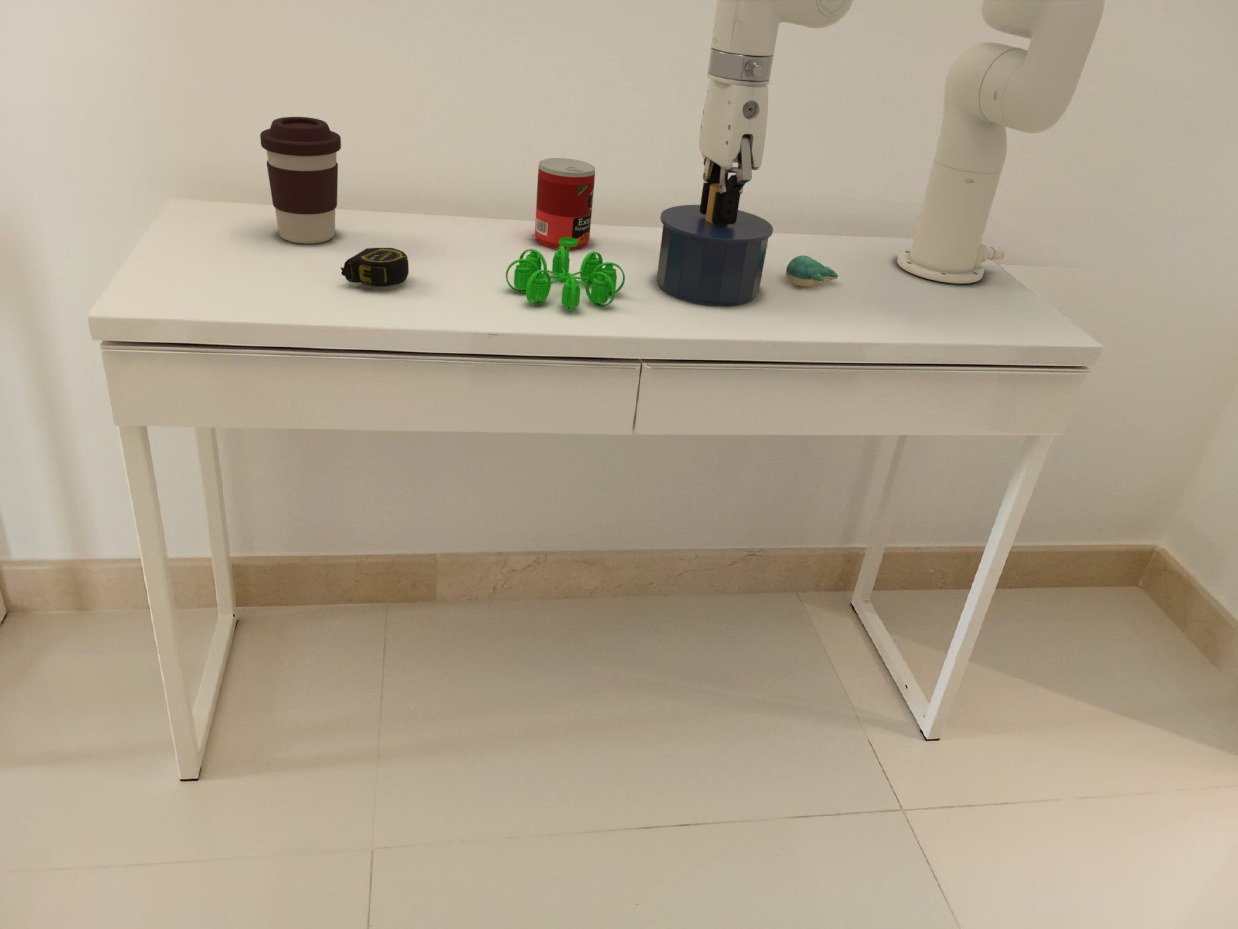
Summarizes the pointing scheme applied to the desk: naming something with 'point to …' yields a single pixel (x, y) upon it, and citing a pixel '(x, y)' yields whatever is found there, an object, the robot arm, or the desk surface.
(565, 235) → the canned food
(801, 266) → the whale figurine
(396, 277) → the tape measure
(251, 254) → the desk surface
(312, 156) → the coffee cup
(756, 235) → the tin lid
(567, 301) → the chandelier
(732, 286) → the tin
